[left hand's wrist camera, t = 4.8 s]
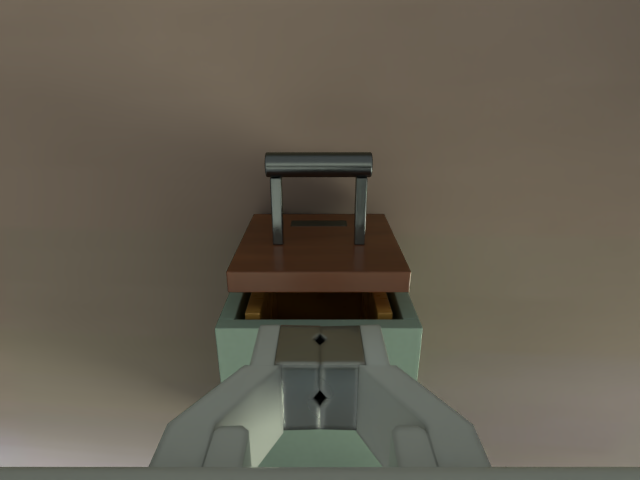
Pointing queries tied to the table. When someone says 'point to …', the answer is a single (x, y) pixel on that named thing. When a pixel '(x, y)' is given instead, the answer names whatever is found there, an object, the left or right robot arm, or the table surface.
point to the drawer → (318, 250)
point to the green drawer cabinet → (318, 444)
